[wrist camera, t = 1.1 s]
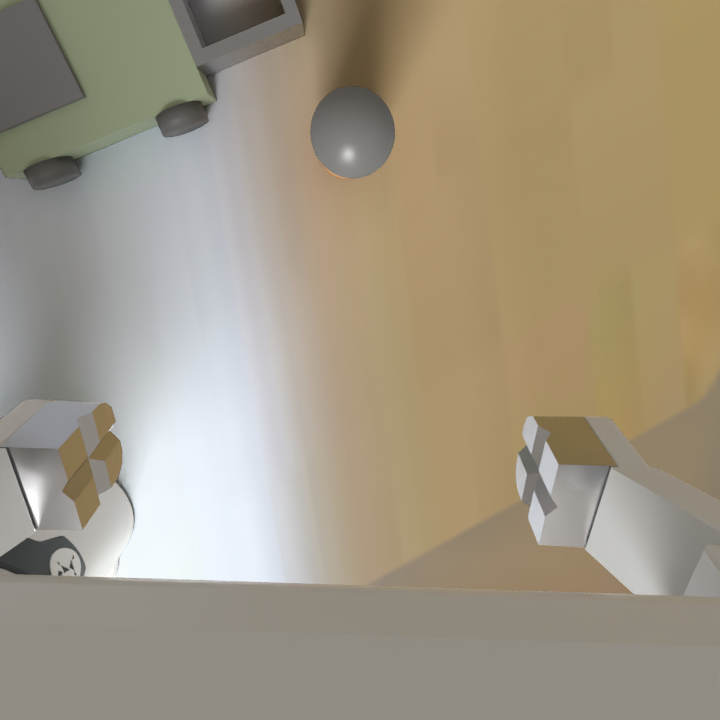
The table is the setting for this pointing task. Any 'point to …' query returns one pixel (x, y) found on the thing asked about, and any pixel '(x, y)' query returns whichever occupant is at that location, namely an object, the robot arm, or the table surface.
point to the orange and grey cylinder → (352, 132)
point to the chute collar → (237, 37)
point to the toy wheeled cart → (90, 82)
